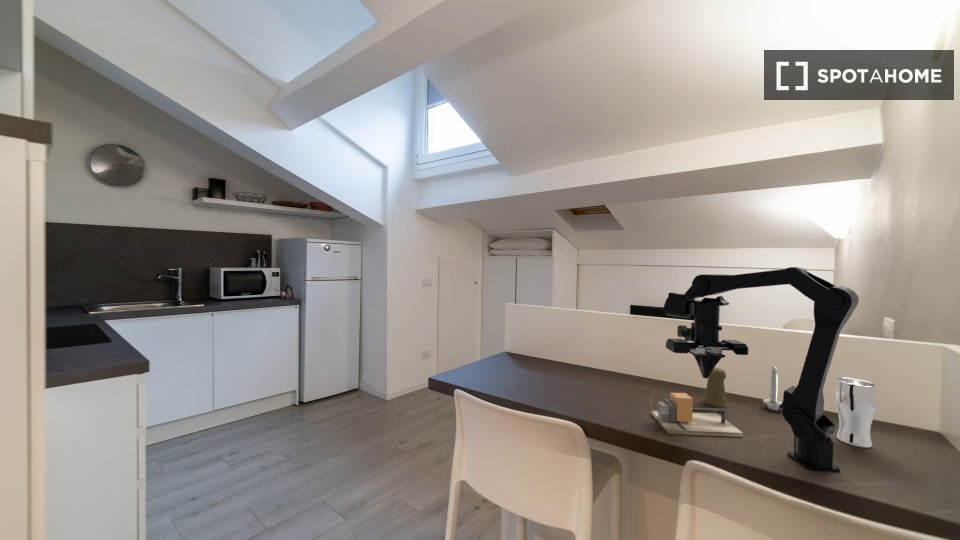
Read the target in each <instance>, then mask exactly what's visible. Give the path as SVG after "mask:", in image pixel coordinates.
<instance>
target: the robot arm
mask: <svg viewBox="0 0 960 540" xmlns="http://www.w3.org/2000/svg"><path fill="white" fill-rule="evenodd" d="M782 285H783V286H784V285H790V286H791V287H793V288H794V289H795V290H797V291H798V292H800V293H801V294H802V295H804V297H807V299H810V300H812V301H813V319H814V328H813V329H814V330H813V332H812V335H811V339H810V342H809V346H808V349H807V353H806V356H805V360H804V363H803V366H802V369H801V373H800V377H799V380H798V384H797V386H794V385H791V386H789V387H787V389H785V390H784V391H783V398H782V399H783V400H782V401H781V402H782V404H781V405H780V406H779V407H778V408H781V415H782V417H783V419H784V420H785V421H786V422H787V423H788V425H790V427H791V430H792V433H793V451H787V455H788V456H789V457H791V458H792V459H793V460H795V461H796V462H798V463H800V465H802V466H803V467H805V468H806V469H807V470H811V471H812V470H813V471H833V472H841V468H840V467H839V466H838V465H836V464H835V463H833V462H834V446H835V445H834V444H835V443H834V441H833V440H832V437H831V435H833V434H834V433H835V430H836V429H837V425H836V423H834V422H833V421H832V420H831V419H830V418H829V417H828V416H827V415H826V414H825V413H824V411H825V409H824V408H825V399H824V385H825V383H826V380H827V378H828V377H827V376H828V372H829V371H830V367H831V363H832V361H833V357H834V354H835V351H836V348H837V344H838V340H839V337H840V334H841V331H842V330H843V328H844V327H845V325H846V324H847V322H848V321H849V320H850V318H851V317H852V314H853V313H854V311H855V310H856V309H857V306H858V305H859V302H860V301H859V300H860V298H859V295H858V294H857V293H856V292H855V290H853V289H851V288H850V287H846V286H843V285H842V286H840V285H835V284H833V283H831V282H829V281H828V280H825V279H823V278H821V277H819V276H817V275H816V274H814V273H811V272H810V271H808V270H807V269H805V268H804V267H800V266H793V267H792V266H791V267H787V268H784V269H783V268H781V269H773V270H766V271H765V270H764V271H756V272H750V273H749V272H748V273H740V274H725V273H724V274H722V273H721V274H720V273H709V274H708V273H705V274H698V275H696V276H695V277H694V278H693V280H692V282H691V285H690V287H689V288H688V289H687V290H686V291H685V293H679V292H678V293H677V292H674V291H673V292H669V293H668V296H667V297H666V299H665V302H664V304H663V310H664V311H663V312H664V313H665V315H666V316H668V317H669V316H670V317H676V318H686V319H690V318H691V317H692V316H694V321H693V322H691V324H690V325H691V327H687V325H677V333H676V334H677V337H678V338H670V337H669V338H667V340H666V341H665V349H667V350H669V351H670V352H672V353H675V354H688V353H689V354H691V355H692V356H693V357H694V359H695V361H696V364H697V365H698V368H699V371H700V374H701V376H702V378H703V379H708V377H709V375H710V374H711V372H712V370H713V369H714V368H716V366H717V364H718V363H719V362H720V361H721V359H722V358H726V354H723V351H732V352H733V353H734V354H735V355H736V356H737V355H738V356H739V355H740V356H748V355H749V349H750V348H749V346H748V345H747V344H746V343H744V342H742V341H739V340H736V339H722V340H721V341H720V338H719V337H720V331H723V326H722V325H720V308H721V307H724V306H729V305H730V302H729V301H728V300H726V298H724V296H723V295H720V294H724V293H727V292H731V291H735V290H738V289H739V290H740V289H741V290H742V289H749V288H762V287H773V286H782ZM715 295H718V296H716V297H715V298H714V297H708V296H715ZM719 295H720V296H719ZM698 298H699V299H700V298H702V300H698ZM682 338H684V339H682Z"/></svg>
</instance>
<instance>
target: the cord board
mask: <svg viewBox="0 0 960 540" xmlns="http://www.w3.org/2000/svg"><path fill="white" fill-rule="evenodd" d="M650 412H651V413H650V414H651V415H652V416H653V417H654V419H655V420H657V422H658V423H659V424H660V425H661V426H662V428H664V430H665V431H666V432H667V433H668V434H669V435H687V436H688V435H689V436H690V435H691V436H709V437H710V436H712V437H715V436H716V437H733V438H735V437H736V438H739V437H740V438H743V437H744V432H742V431H741V430H740V429H738V428H737V427H736V426H734V425H733V424H732V423H731V422H729V421H727V417H726V411H725V409H724V408H713V407H712V408H710V407H709V408H708V407H707V408H706V407H693V415H692V422H680V421H676V405H675V404H674V403H673V402H671V398H663V401H658V402H657V410H651V411H650Z"/></svg>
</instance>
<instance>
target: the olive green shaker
mask: <svg viewBox="0 0 960 540" xmlns="http://www.w3.org/2000/svg"><path fill="white" fill-rule="evenodd" d="M726 378H727V374H726V371H725V370H724V369H722V368H719V367H714V369H713V370H712V372H711V374H710V375H709V377H708V378H707V384H706V389H705V393H704V399H703V402H704V403H705V404H707V405H708V406H711V407H715V408H716V407H717V408H726V407H727V406H728V404H727V396H726V388H725V387H726V386H725V382H724V381H725V380H726Z"/></svg>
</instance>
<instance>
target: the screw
mask: <svg viewBox="0 0 960 540" xmlns="http://www.w3.org/2000/svg"><path fill="white" fill-rule="evenodd" d="M777 371H778V368H777V367H776V366H771V372H770V373H771V374H770V385H769V386H770V388H769V389H770V390H769V395H770V396H769V398H763V400H762V402H763V403H764V404H766V405H767V409H768V410H770V411H777V412H779V408H780V407H779V406H780V405H781V404H782V402H783V401H781V400H778V389H779V387H778V383H779V379H778V376H779V375H778V372H777Z"/></svg>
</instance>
